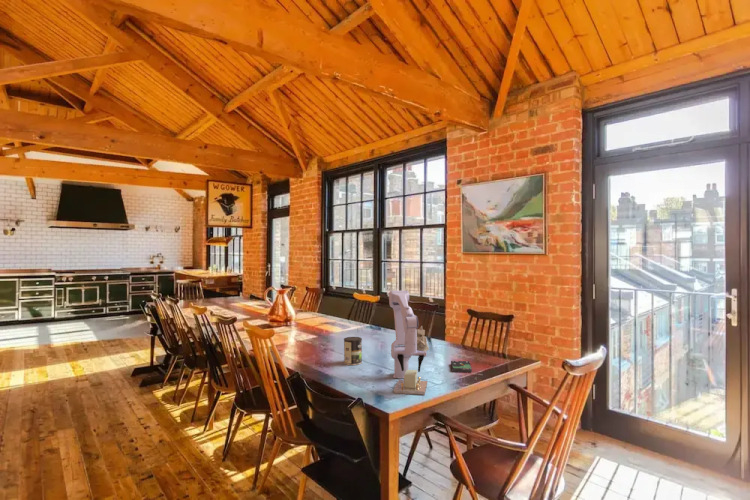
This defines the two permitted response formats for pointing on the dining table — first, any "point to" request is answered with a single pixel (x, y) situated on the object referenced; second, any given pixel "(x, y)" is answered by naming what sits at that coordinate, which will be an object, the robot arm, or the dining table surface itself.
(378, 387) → the dining table surface
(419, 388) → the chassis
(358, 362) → the coffee can
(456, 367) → the disk drive
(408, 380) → the block
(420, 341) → the ceramic cottage
